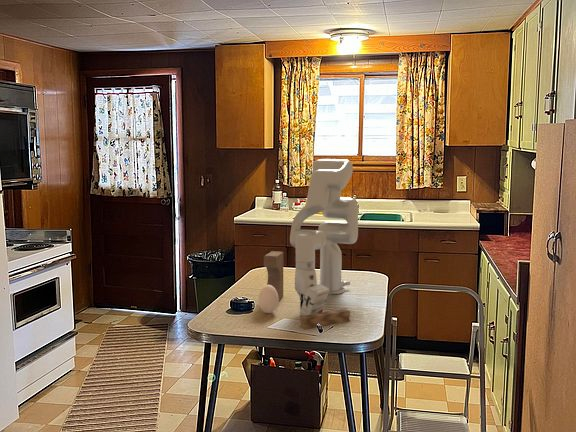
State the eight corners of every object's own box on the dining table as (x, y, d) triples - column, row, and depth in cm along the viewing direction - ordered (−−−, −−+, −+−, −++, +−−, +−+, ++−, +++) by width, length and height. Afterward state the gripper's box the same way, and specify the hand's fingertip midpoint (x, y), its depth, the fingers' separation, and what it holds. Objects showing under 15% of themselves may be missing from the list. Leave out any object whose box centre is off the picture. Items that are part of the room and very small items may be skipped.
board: (345, 318, 231) (345, 308, 230) (349, 320, 228) (349, 310, 228) (300, 326, 221) (300, 316, 220) (304, 329, 218) (304, 318, 218)
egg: (263, 317, 233) (263, 288, 231) (255, 311, 240) (254, 283, 238) (282, 314, 236) (282, 285, 235) (273, 309, 243) (273, 281, 242)
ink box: (312, 308, 238) (321, 282, 234) (321, 315, 236) (330, 289, 231) (298, 313, 232) (307, 287, 228) (308, 320, 229) (317, 293, 225)
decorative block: (276, 303, 251) (275, 256, 248) (263, 302, 253) (262, 255, 250) (284, 297, 262) (284, 251, 259) (271, 295, 263) (271, 250, 261)
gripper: (323, 267, 230) (323, 314, 232) (303, 260, 243) (303, 305, 245) (306, 269, 226) (306, 317, 229) (287, 262, 239) (287, 307, 241)
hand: (304, 310), depth 237 cm, fingers closed
